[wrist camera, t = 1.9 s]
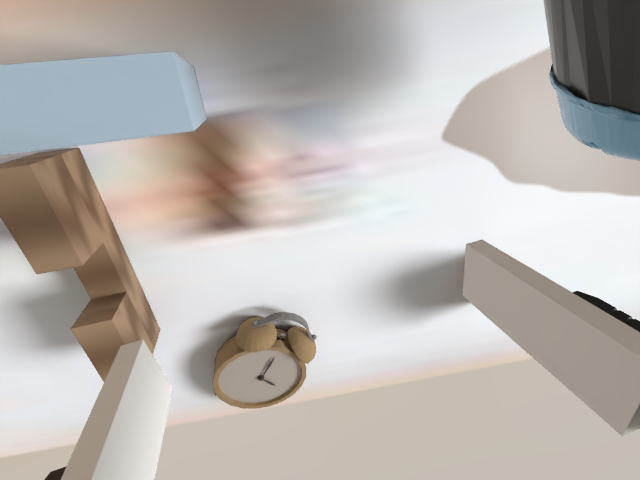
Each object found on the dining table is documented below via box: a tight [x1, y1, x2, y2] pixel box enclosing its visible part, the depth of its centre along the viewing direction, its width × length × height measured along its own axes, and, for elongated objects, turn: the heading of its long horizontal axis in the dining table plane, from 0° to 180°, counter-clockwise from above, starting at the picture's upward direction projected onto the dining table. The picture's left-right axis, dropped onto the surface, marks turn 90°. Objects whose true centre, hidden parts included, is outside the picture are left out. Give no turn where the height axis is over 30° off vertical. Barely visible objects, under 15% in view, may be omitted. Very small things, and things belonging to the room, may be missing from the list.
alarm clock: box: [213, 312, 316, 408], centre depth 38 cm, size 11×5×15 cm
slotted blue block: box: [0, 51, 206, 156], centre depth 20 cm, size 10×4×10 cm, turn 96°
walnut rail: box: [0, 148, 160, 382], centre depth 26 cm, size 20×3×7 cm, turn 6°
